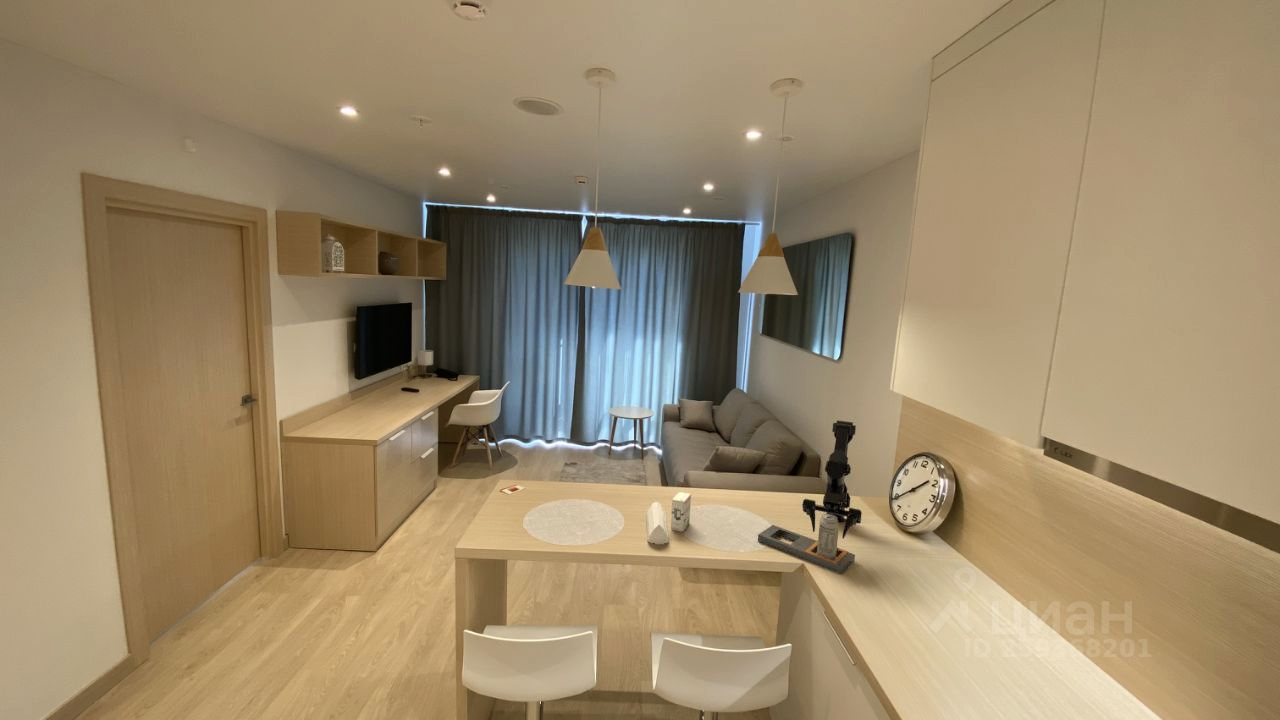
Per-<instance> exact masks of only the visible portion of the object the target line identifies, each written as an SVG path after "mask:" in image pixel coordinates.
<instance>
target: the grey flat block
mask: <svg viewBox="0 0 1280 720" xmlns="http://www.w3.org/2000/svg"><path fill="white" fill-rule="evenodd" d="M778 537H782V538H784V539H787V540H790V541H792V543H790V544H789V543H787V542H785V541H782V540H779V539H777V538H778ZM757 542H760V543H761V544H764V545H767V546H769V547H772V548H774V549H776V550H778V551H782V552H784V553H787V554H789V555H792V556H794V557H797V558H800V559H801V560H805V561H807V562H809V563H813V564H815V565H818V566H820V567H822V568H825V569H828V570H830V571H833V572H834V573H838V574H841V575H843V574H844V573H845V572H846V571H847V570H848V569H849V568H850V567H851V566H852V565H853V564H854V563H855V559H856V554H854V553H851V552H849V551H848V550H845V549H842V548H840V547H837V551H836V559H835V560H832V559H829V558H826V557H824V556H821V555H819V554H817V547H818V540H816V539H813V538H811V537H807V536H805V535H803V534H800V533H797V532H793V531H791V530H788V529H786V528H783V527H780V526H777V525H775V524H772V525H770V526H769V527H767V528H765V530H763V531H761V532H760V533H758V534H757Z"/></svg>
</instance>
